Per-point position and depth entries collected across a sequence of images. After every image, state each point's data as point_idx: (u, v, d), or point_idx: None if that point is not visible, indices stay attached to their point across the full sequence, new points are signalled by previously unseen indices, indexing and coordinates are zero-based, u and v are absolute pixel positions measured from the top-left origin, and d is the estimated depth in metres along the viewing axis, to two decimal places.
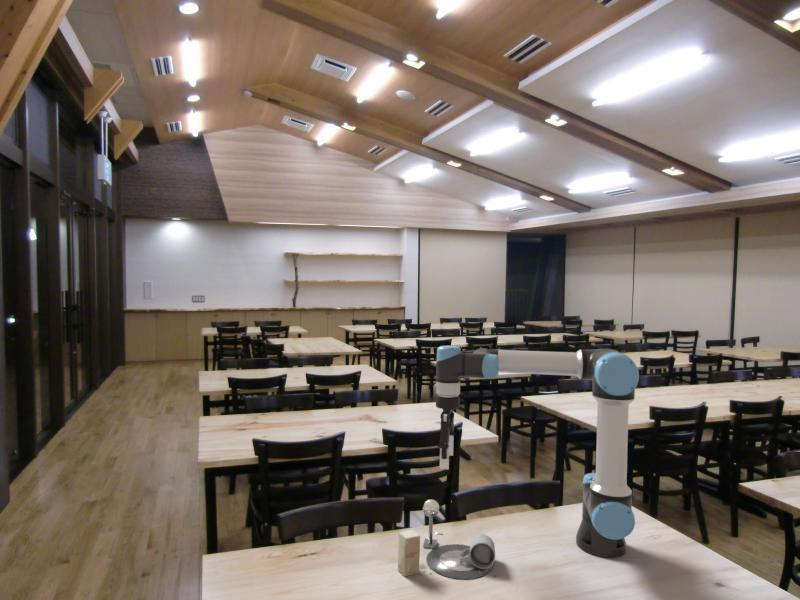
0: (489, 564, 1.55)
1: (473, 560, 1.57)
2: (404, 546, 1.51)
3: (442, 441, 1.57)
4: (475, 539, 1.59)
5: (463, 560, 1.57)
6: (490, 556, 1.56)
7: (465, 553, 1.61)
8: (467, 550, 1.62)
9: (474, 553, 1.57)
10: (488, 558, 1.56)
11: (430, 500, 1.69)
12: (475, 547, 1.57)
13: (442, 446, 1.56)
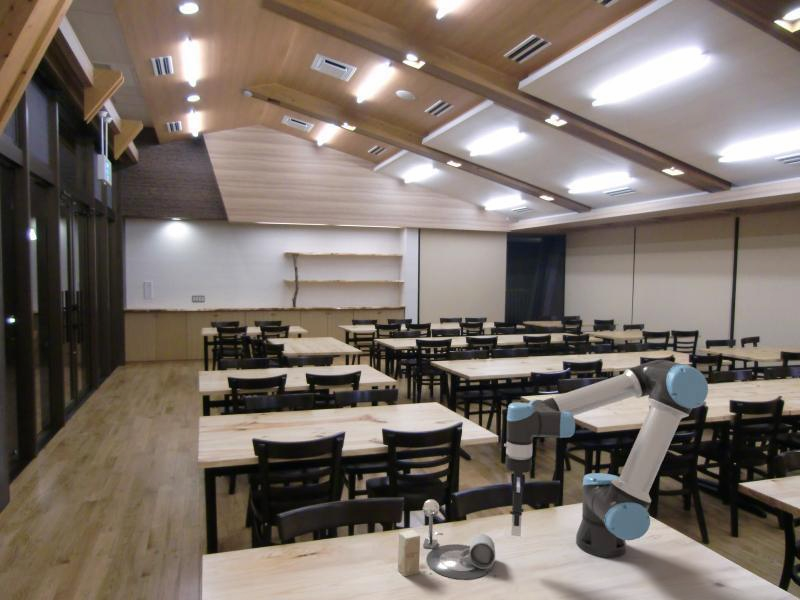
0: (489, 564, 1.55)
1: (473, 560, 1.57)
2: (404, 546, 1.51)
3: (516, 510, 1.52)
4: (475, 539, 1.59)
5: (463, 560, 1.57)
6: (490, 556, 1.56)
7: (465, 553, 1.61)
8: (467, 550, 1.62)
9: (474, 553, 1.57)
10: (488, 558, 1.56)
11: (430, 500, 1.69)
12: (475, 547, 1.57)
13: (516, 513, 1.52)
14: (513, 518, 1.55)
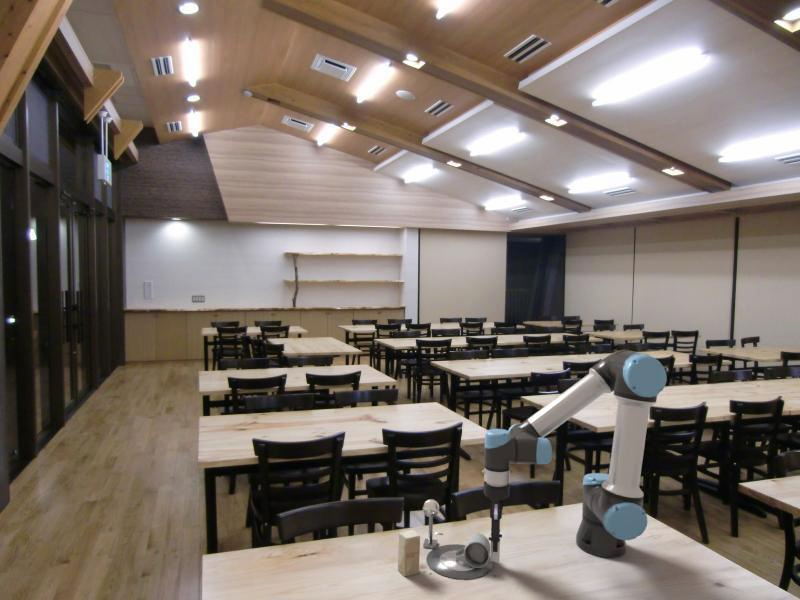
0: (484, 563, 1.55)
1: (468, 559, 1.57)
2: (404, 546, 1.51)
3: (494, 537, 1.53)
4: (470, 538, 1.59)
5: (458, 559, 1.58)
6: (485, 555, 1.56)
7: (461, 552, 1.62)
8: (463, 549, 1.62)
9: (469, 552, 1.57)
10: (483, 557, 1.56)
11: (430, 500, 1.69)
12: (470, 546, 1.57)
13: (494, 540, 1.54)
14: (492, 544, 1.57)
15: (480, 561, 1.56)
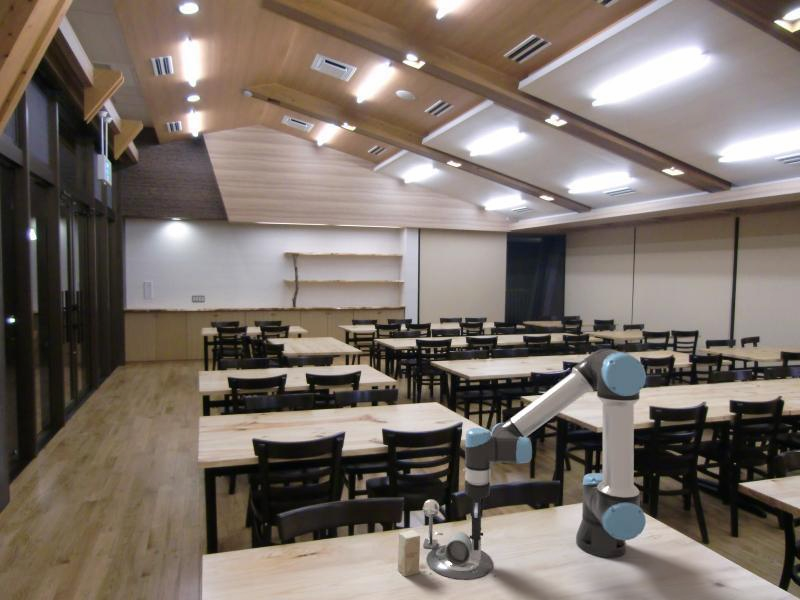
0: (464, 561, 1.56)
1: (449, 557, 1.58)
2: (404, 546, 1.51)
3: (474, 535, 1.54)
4: (452, 536, 1.60)
5: (439, 557, 1.59)
6: (466, 553, 1.57)
7: (443, 550, 1.63)
8: (445, 547, 1.63)
9: (450, 550, 1.58)
10: (464, 555, 1.57)
11: (430, 500, 1.69)
12: (451, 544, 1.58)
13: (474, 538, 1.55)
14: (473, 542, 1.58)
15: (461, 559, 1.57)
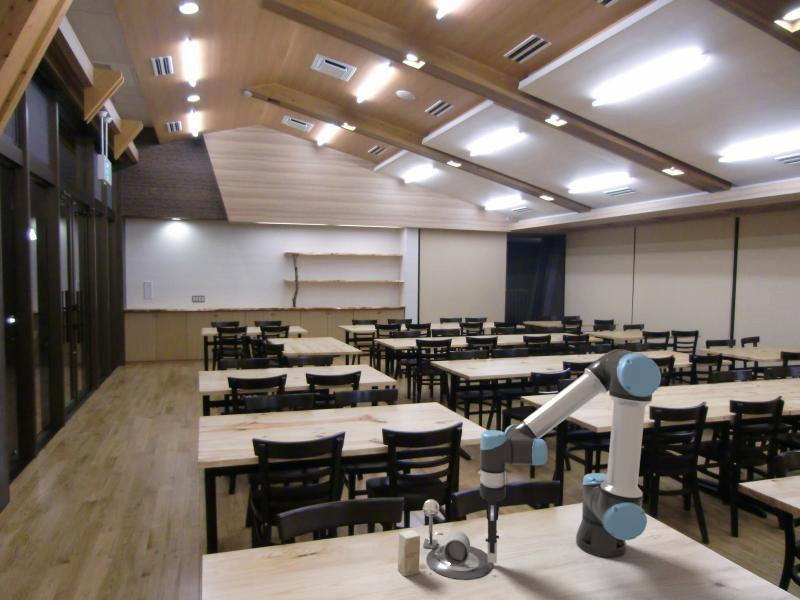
0: (463, 561, 1.56)
1: (448, 557, 1.58)
2: (404, 546, 1.51)
3: (490, 538, 1.54)
4: (450, 536, 1.60)
5: (438, 557, 1.59)
6: (464, 553, 1.58)
7: (441, 550, 1.63)
8: (443, 547, 1.63)
9: (449, 550, 1.59)
10: (462, 555, 1.57)
11: (430, 500, 1.69)
12: (450, 544, 1.58)
13: (491, 541, 1.54)
14: (489, 545, 1.57)
15: (459, 559, 1.57)
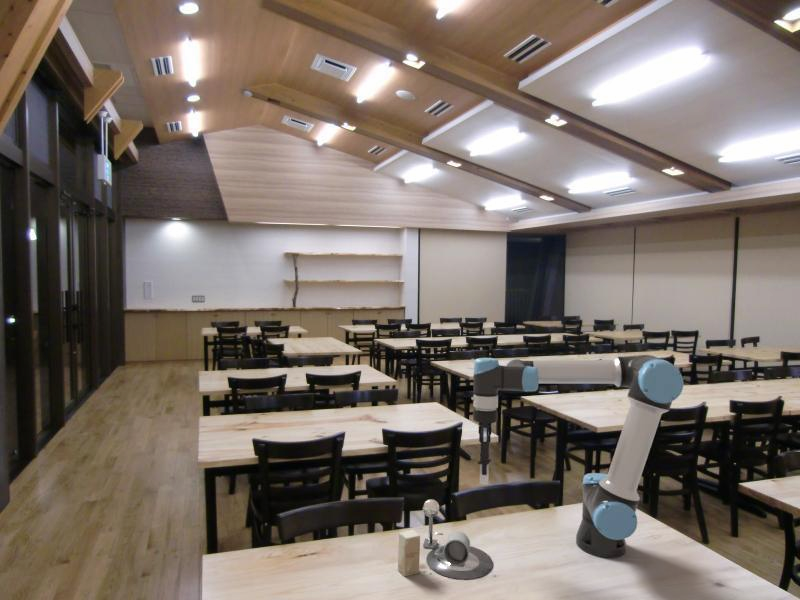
0: (463, 561, 1.56)
1: (448, 557, 1.58)
2: (404, 546, 1.51)
3: (483, 459, 1.59)
4: (450, 536, 1.60)
5: (438, 557, 1.59)
6: (464, 553, 1.58)
7: (441, 550, 1.63)
8: (443, 547, 1.63)
9: (449, 550, 1.59)
10: (462, 555, 1.57)
11: (430, 500, 1.69)
12: (449, 544, 1.58)
13: (483, 462, 1.59)
14: (481, 468, 1.62)
15: (459, 559, 1.57)
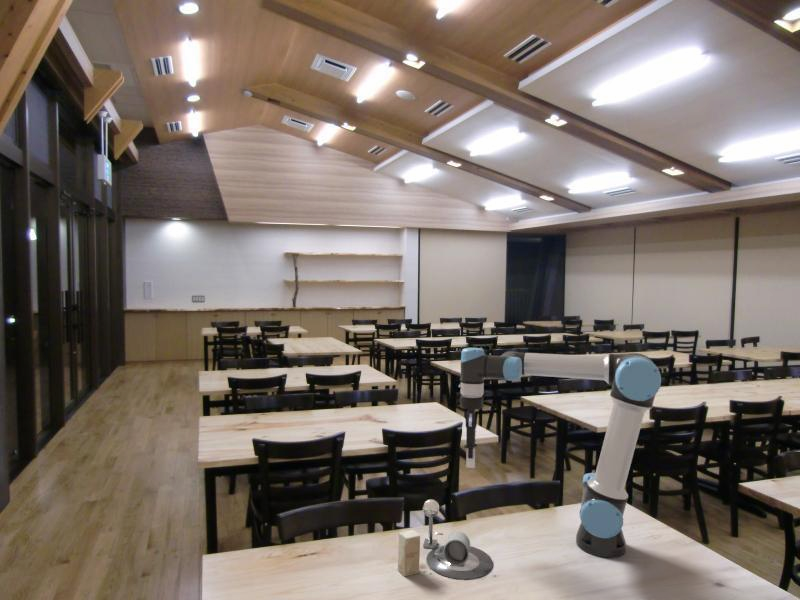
0: (463, 561, 1.56)
1: (448, 557, 1.58)
2: (404, 546, 1.51)
3: (469, 443, 1.68)
4: (450, 536, 1.60)
5: (438, 557, 1.59)
6: (464, 553, 1.58)
7: (441, 550, 1.63)
8: (443, 547, 1.63)
9: (449, 550, 1.59)
10: (462, 555, 1.57)
11: (430, 500, 1.69)
12: (449, 544, 1.58)
13: (469, 446, 1.69)
14: (467, 452, 1.72)
15: (459, 559, 1.57)
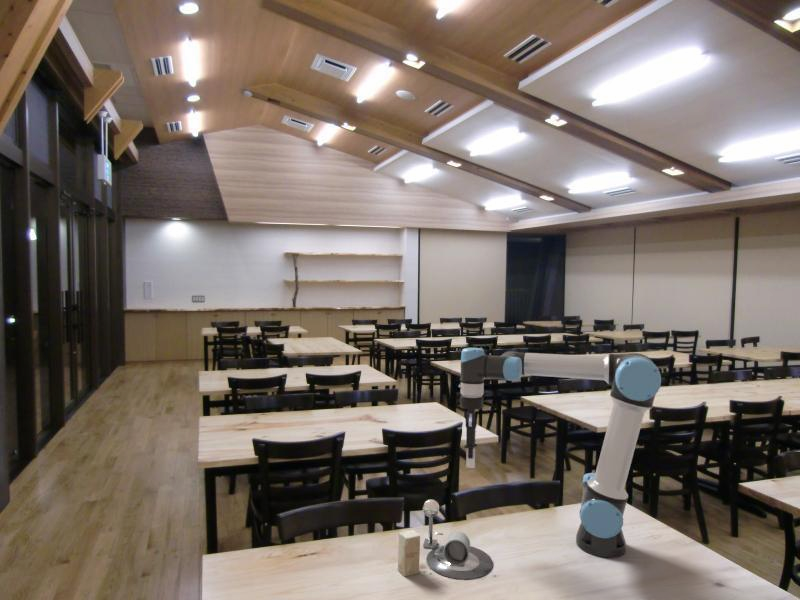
0: (463, 561, 1.56)
1: (448, 557, 1.58)
2: (404, 546, 1.51)
3: (469, 443, 1.68)
4: (450, 536, 1.60)
5: (438, 557, 1.59)
6: (464, 553, 1.58)
7: (441, 550, 1.63)
8: (443, 547, 1.63)
9: (449, 550, 1.59)
10: (462, 555, 1.57)
11: (430, 500, 1.69)
12: (449, 544, 1.58)
13: (469, 446, 1.69)
14: (467, 452, 1.72)
15: (459, 559, 1.57)
